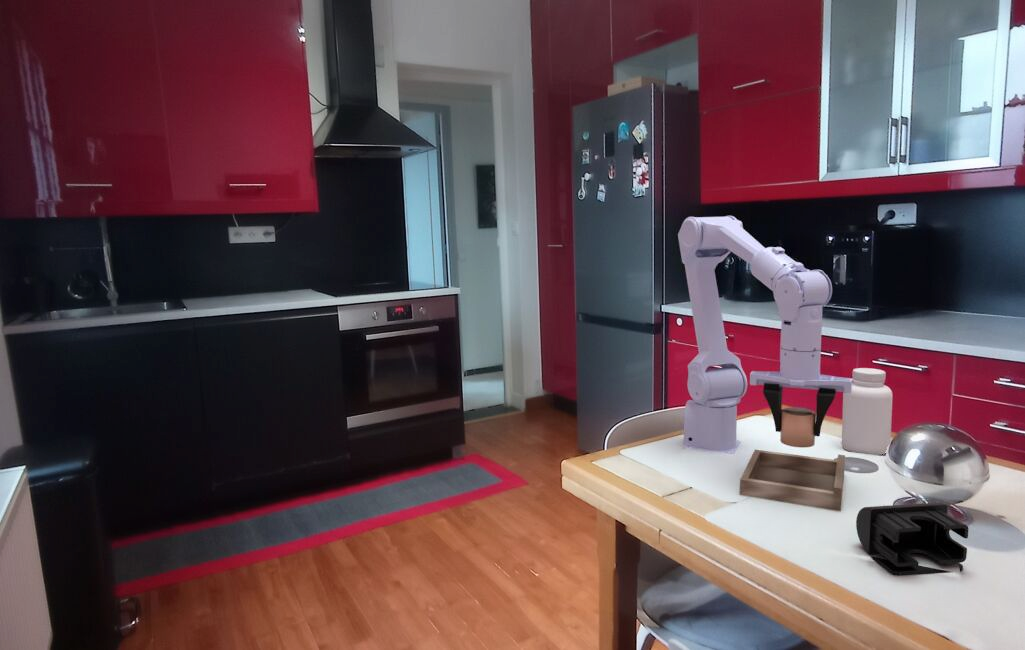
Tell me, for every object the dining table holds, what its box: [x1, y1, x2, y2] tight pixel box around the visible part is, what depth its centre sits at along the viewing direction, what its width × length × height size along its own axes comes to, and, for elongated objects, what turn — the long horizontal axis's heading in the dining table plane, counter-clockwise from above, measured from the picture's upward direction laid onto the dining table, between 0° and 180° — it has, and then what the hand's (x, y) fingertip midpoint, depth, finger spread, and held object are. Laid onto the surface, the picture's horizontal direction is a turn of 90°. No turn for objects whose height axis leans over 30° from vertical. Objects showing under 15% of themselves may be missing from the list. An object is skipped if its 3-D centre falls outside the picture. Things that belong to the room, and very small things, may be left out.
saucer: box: [832, 456, 879, 474], centre depth 109 cm, size 7×7×1 cm
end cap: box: [855, 502, 969, 577], centre depth 79 cm, size 10×7×7 cm
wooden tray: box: [739, 449, 846, 512], centre depth 101 cm, size 14×15×4 cm
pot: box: [779, 406, 816, 449], centre depth 100 cm, size 5×5×5 cm
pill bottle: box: [841, 367, 894, 456], centre depth 117 cm, size 8×8×15 cm
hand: (797, 432), depth 101 cm, fingers closed on pot, 5 cm apart
